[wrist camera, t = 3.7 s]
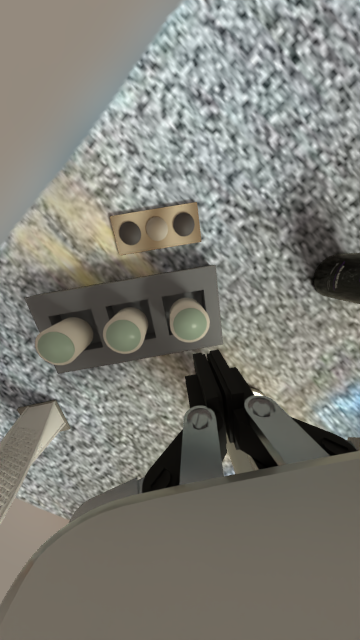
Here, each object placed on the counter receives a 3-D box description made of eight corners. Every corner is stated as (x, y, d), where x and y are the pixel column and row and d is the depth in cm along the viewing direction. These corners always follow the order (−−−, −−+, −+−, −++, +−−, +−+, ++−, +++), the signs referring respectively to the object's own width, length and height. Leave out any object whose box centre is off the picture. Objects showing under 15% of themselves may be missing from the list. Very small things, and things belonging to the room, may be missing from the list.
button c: (97, 345, 26) (83, 362, 21) (65, 351, 26) (43, 369, 21) (87, 314, 24) (69, 325, 20) (52, 320, 24) (26, 333, 20)
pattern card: (196, 203, 24) (197, 201, 24) (200, 241, 26) (201, 241, 25) (111, 217, 24) (109, 215, 24) (120, 255, 26) (119, 255, 25)
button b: (151, 335, 26) (147, 350, 21) (119, 341, 26) (109, 357, 21) (144, 304, 24) (138, 313, 20) (109, 310, 24) (97, 320, 20)
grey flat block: (209, 265, 27) (215, 265, 24) (216, 335, 31) (222, 344, 28) (42, 293, 27) (24, 297, 23) (69, 361, 30) (57, 373, 27)
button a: (204, 326, 26) (212, 339, 22) (172, 332, 26) (173, 346, 22) (200, 294, 25) (207, 301, 20) (166, 300, 24) (166, 308, 20)
